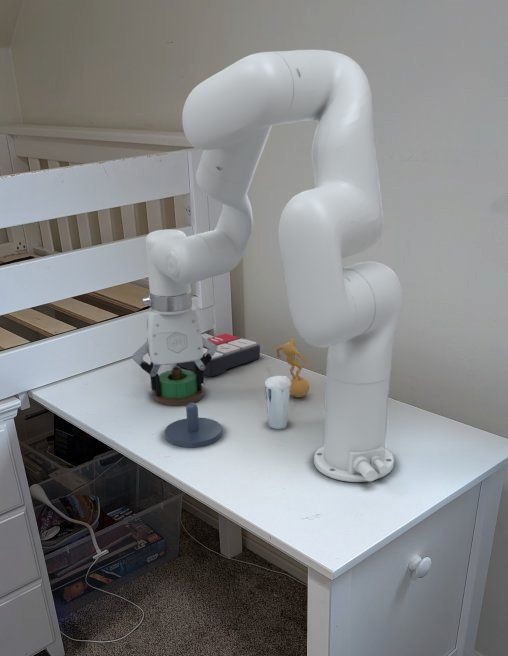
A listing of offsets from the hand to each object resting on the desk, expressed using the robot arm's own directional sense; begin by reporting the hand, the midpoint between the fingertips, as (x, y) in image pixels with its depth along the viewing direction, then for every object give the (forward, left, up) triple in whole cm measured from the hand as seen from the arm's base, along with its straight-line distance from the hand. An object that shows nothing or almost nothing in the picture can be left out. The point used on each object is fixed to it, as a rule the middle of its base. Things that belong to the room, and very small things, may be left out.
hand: (178, 389), depth 145 cm
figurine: (-9, -21, -1) cm, 23 cm away
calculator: (+15, -12, -1) cm, 19 cm away
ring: (0, 0, 0) cm, 0 cm away
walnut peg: (0, 0, -1) cm, 1 cm away
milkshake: (-19, -14, -1) cm, 24 cm away
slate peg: (-18, +1, -1) cm, 18 cm away
